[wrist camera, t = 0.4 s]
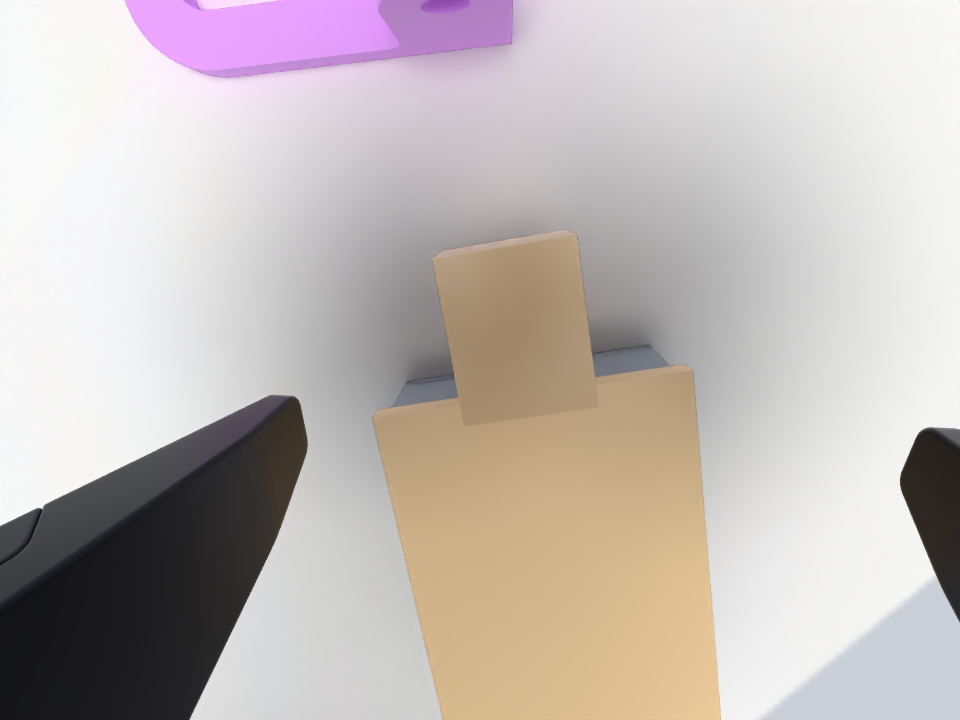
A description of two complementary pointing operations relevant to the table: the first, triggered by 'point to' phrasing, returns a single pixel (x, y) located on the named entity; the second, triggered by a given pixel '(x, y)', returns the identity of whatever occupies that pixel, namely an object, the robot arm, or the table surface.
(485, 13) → the bracket
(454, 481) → the tan board with handle
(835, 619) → the table surface
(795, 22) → the table surface
